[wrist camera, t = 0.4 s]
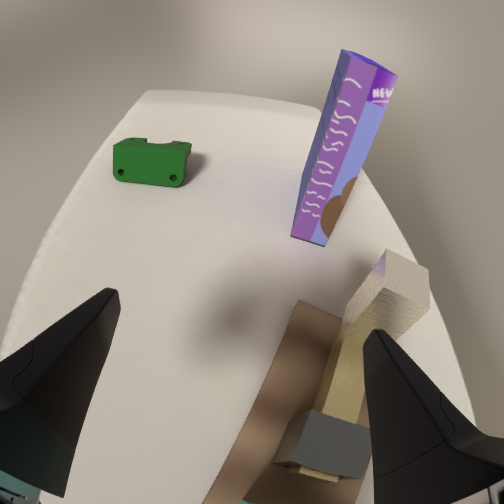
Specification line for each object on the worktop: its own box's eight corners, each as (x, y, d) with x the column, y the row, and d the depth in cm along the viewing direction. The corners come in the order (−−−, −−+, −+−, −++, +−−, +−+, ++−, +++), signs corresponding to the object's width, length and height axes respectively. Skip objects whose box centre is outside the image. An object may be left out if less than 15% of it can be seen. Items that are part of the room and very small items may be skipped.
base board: (319, 565, 12) (324, 568, 11) (185, 531, 13) (185, 533, 13) (389, 344, 29) (394, 340, 28) (295, 305, 31) (298, 300, 30)
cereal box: (324, 246, 38) (398, 74, 21) (290, 236, 38) (352, 55, 21) (327, 182, 50) (371, 58, 33) (302, 174, 50) (341, 47, 33)
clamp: (176, 193, 47) (202, 148, 43) (167, 207, 42) (196, 157, 38) (118, 160, 44) (140, 114, 39) (102, 171, 38) (125, 119, 34)
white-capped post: (325, 483, 16) (409, 480, 9) (280, 470, 17) (343, 468, 9) (368, 334, 27) (428, 269, 19) (334, 320, 27) (386, 248, 20)
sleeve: (329, 479, 17) (361, 479, 14) (270, 462, 18) (291, 461, 14) (343, 440, 20) (376, 429, 16) (288, 421, 21) (311, 409, 17)
